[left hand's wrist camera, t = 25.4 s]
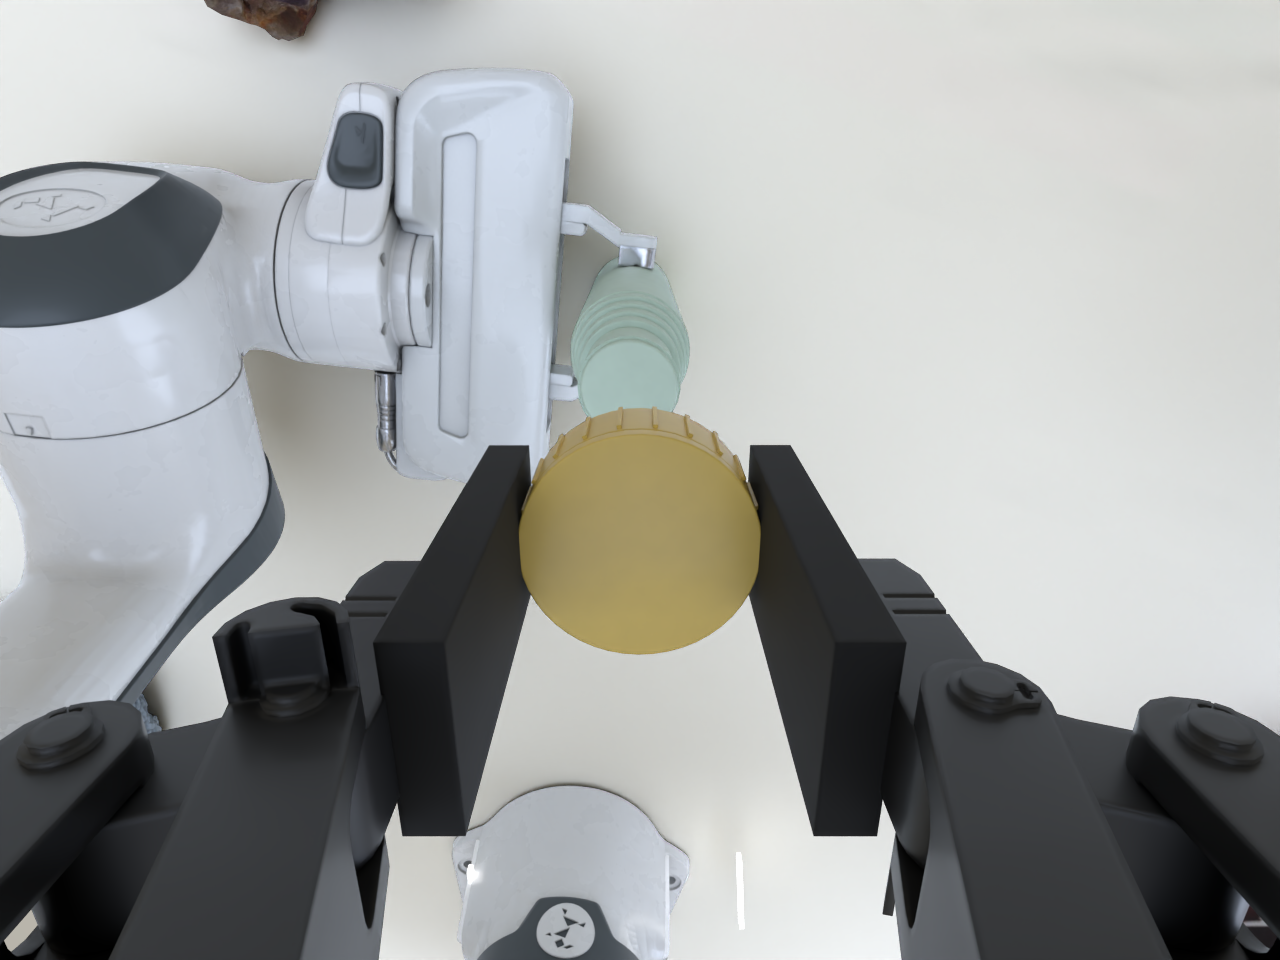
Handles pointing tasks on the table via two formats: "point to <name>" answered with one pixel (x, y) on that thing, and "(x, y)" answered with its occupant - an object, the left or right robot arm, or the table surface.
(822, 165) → the table surface
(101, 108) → the table surface
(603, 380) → the bottle
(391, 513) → the table surface
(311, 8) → the rock
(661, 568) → the cap
